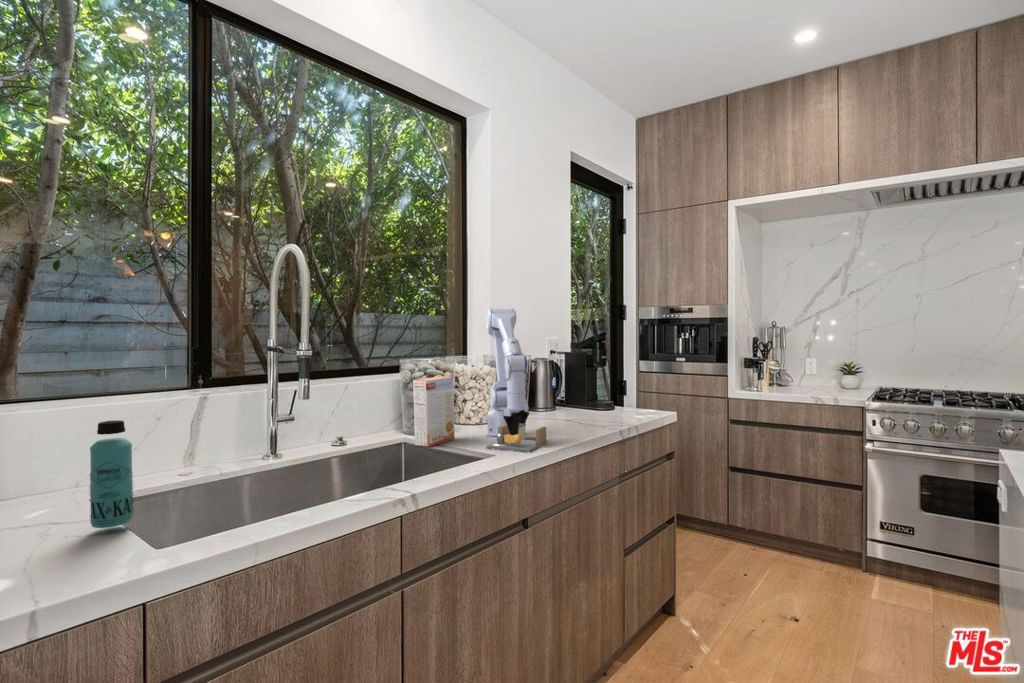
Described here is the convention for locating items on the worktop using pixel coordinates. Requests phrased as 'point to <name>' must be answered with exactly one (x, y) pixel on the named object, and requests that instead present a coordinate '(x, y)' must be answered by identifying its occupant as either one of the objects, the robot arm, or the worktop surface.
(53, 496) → the worktop surface
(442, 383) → the cracker box
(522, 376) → the robot arm
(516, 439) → the gauge lever
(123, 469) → the beverage bottle
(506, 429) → the rail board
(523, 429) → the beige block
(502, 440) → the gauge dial
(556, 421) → the worktop surface
